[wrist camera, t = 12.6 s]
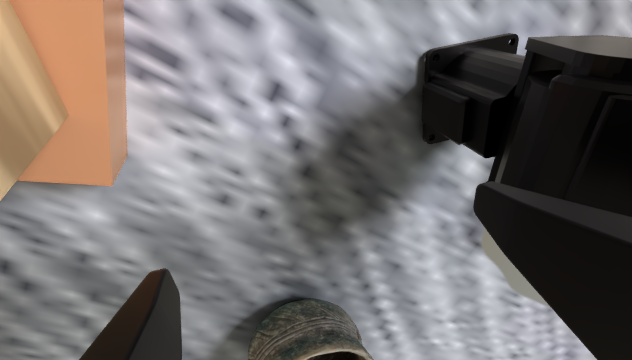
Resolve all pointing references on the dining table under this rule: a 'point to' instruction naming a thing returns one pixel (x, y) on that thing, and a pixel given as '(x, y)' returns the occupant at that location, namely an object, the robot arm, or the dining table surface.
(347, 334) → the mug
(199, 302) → the dining table surface
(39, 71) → the birch block
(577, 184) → the robot arm
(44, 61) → the terracotta block
